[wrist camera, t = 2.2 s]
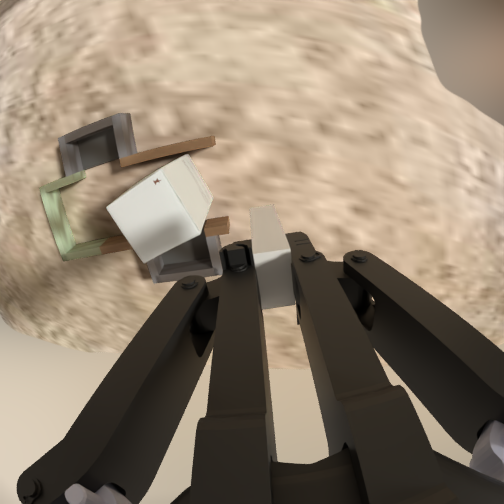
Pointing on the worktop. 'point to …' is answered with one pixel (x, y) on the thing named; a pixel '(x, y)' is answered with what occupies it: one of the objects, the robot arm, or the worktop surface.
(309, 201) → the worktop surface
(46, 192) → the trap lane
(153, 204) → the supplement box
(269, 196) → the worktop surface
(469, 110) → the worktop surface
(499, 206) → the worktop surface
